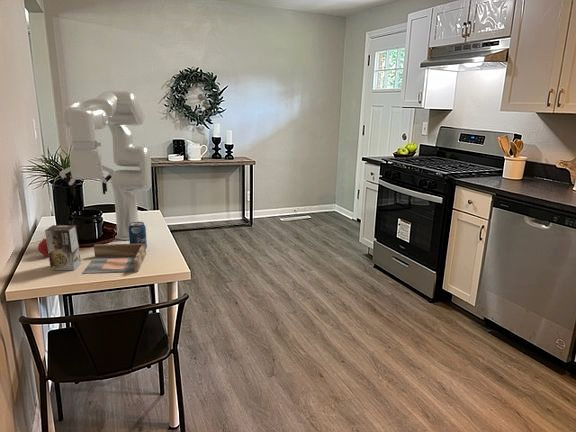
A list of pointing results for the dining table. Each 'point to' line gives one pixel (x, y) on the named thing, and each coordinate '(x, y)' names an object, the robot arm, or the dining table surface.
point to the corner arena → (116, 258)
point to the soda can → (137, 233)
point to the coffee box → (63, 247)
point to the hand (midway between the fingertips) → (89, 194)
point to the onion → (43, 247)
